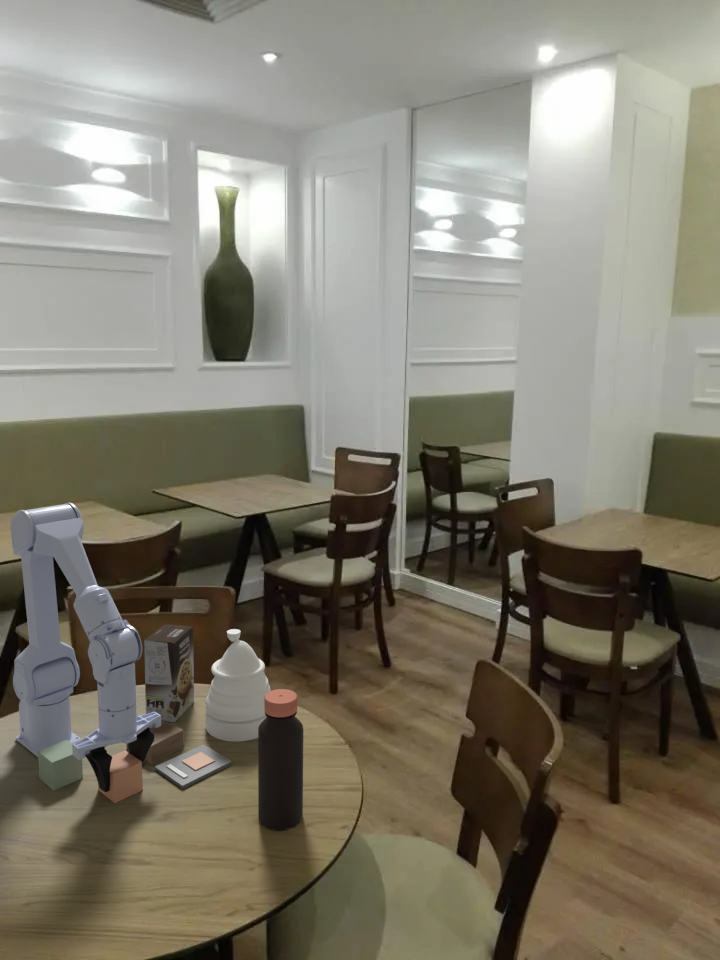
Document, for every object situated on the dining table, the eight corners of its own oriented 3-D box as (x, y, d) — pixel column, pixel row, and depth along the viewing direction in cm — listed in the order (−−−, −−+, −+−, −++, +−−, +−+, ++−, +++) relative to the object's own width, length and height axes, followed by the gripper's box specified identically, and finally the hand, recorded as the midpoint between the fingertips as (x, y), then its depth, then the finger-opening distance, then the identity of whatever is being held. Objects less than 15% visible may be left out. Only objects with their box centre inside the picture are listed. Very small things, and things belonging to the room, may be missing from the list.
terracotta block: (98, 790, 121) (97, 762, 120) (126, 777, 124) (125, 750, 123) (114, 803, 117) (113, 774, 117) (142, 790, 121) (141, 761, 120)
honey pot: (193, 721, 143) (191, 632, 140) (249, 701, 152) (248, 617, 148) (229, 749, 134) (228, 654, 131) (287, 726, 142) (287, 636, 139)
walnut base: (126, 751, 133) (126, 733, 132) (158, 735, 138) (158, 717, 138) (152, 764, 129) (151, 746, 128) (183, 747, 134) (183, 729, 134)
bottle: (309, 809, 117) (310, 690, 113) (291, 836, 110) (292, 710, 107) (270, 800, 119) (270, 682, 115) (250, 825, 113) (249, 702, 109)
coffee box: (176, 723, 142) (174, 643, 140) (144, 719, 144) (142, 639, 141) (195, 701, 151) (194, 625, 148) (166, 697, 152) (164, 622, 150)
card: (154, 769, 127) (154, 765, 127) (203, 747, 134) (203, 743, 134) (182, 789, 121) (182, 784, 121) (231, 764, 129) (231, 760, 129)
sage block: (39, 778, 124) (37, 751, 123) (68, 766, 127) (66, 739, 126) (53, 791, 120) (52, 762, 119) (82, 778, 124) (81, 750, 123)
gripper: (87, 728, 110) (90, 812, 113) (171, 696, 121) (172, 773, 123) (63, 712, 115) (68, 793, 117) (146, 682, 126) (149, 757, 128)
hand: (120, 781), depth 121 cm, fingers closed on terracotta block, 5 cm apart
